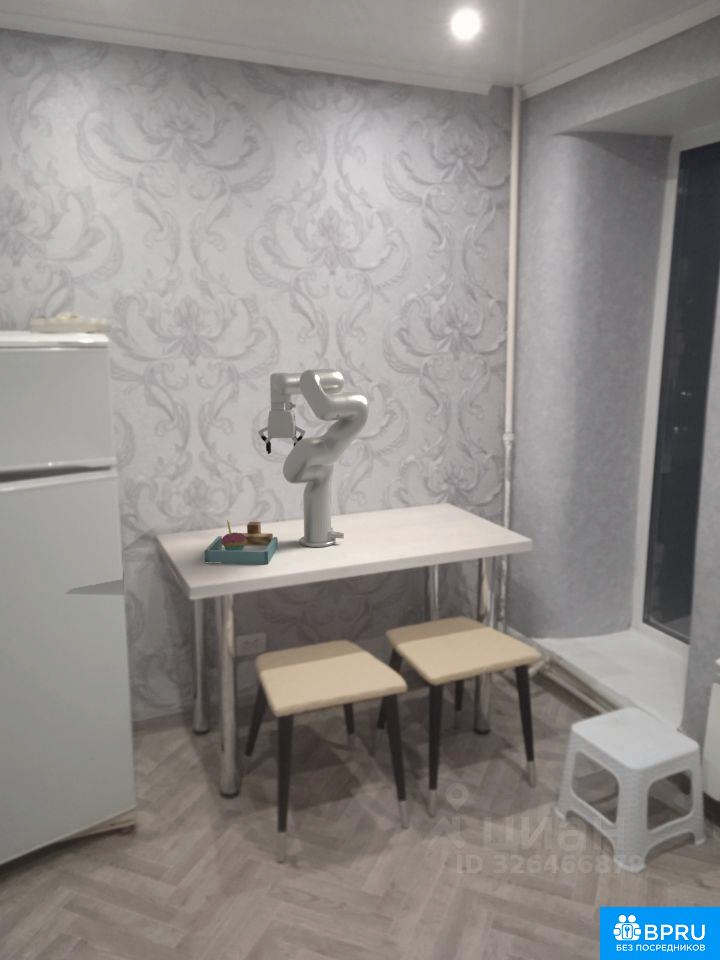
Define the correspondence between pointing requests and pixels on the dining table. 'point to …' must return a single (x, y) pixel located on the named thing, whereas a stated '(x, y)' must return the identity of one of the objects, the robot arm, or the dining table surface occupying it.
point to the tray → (239, 554)
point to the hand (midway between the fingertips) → (282, 453)
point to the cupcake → (233, 540)
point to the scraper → (257, 535)
